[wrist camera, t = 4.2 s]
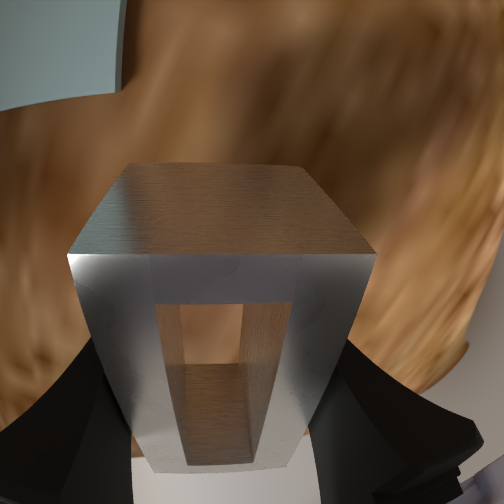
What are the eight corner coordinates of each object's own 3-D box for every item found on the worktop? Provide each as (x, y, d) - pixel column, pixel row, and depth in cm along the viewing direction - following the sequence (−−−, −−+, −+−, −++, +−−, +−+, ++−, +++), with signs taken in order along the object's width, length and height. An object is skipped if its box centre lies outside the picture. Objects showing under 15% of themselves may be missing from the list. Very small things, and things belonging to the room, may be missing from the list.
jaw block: (157, 376, 14) (154, 472, 10) (128, 163, 9) (66, 253, 4) (265, 374, 15) (285, 466, 11) (301, 166, 10) (377, 253, 5)
